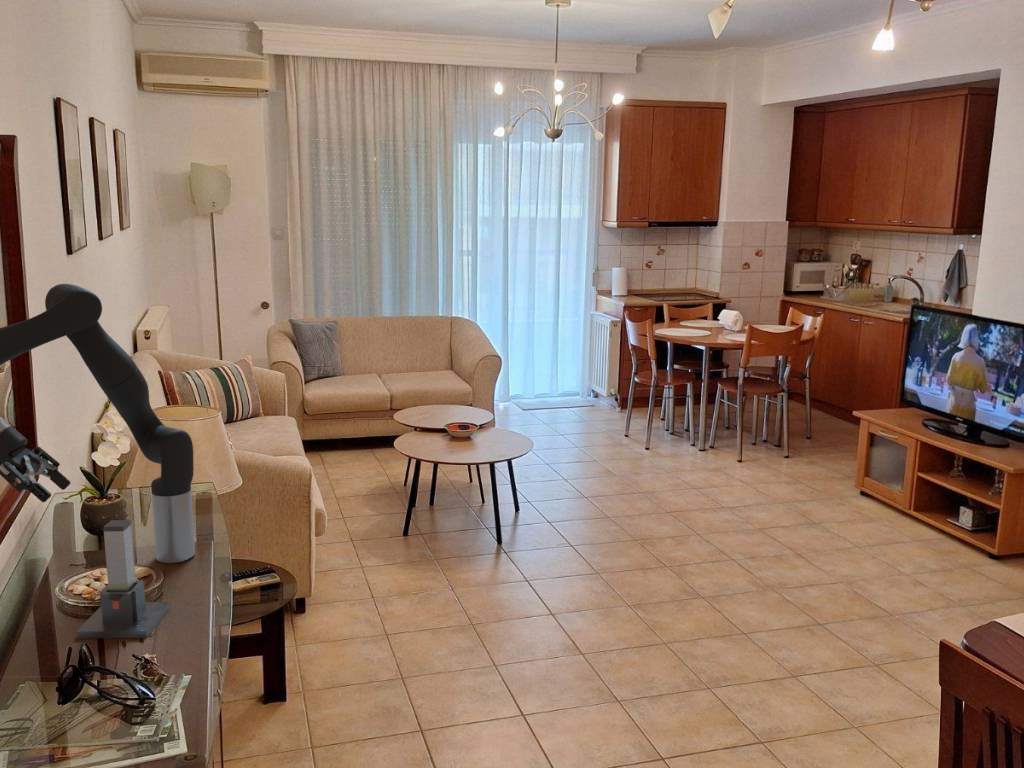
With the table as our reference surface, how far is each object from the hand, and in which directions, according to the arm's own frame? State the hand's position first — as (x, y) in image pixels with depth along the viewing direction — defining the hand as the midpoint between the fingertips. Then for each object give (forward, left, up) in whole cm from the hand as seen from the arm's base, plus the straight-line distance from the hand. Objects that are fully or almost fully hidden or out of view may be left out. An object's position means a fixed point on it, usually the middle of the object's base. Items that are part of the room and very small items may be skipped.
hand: (57, 492), depth 185 cm
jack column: (0, +11, -22) cm, 25 cm away
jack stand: (0, +11, -29) cm, 31 cm away
